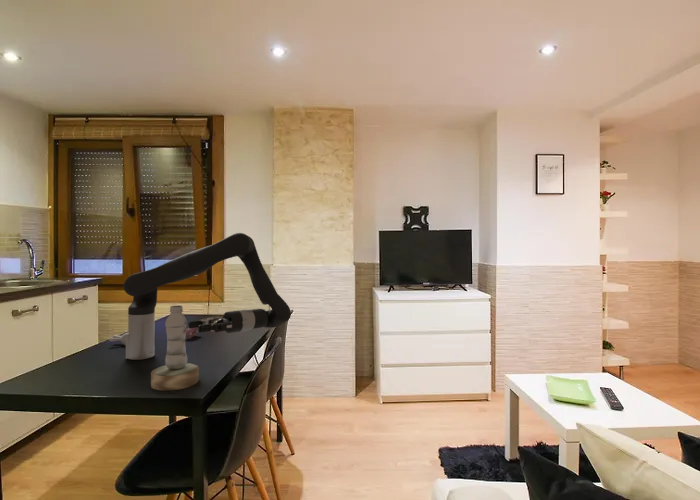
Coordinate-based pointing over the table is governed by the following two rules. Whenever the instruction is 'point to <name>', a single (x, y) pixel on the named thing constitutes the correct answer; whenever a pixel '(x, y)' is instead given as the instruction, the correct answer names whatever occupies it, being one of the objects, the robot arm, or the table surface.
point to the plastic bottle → (176, 338)
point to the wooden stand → (174, 377)
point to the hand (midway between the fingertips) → (193, 327)
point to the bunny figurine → (119, 338)
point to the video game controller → (191, 332)
